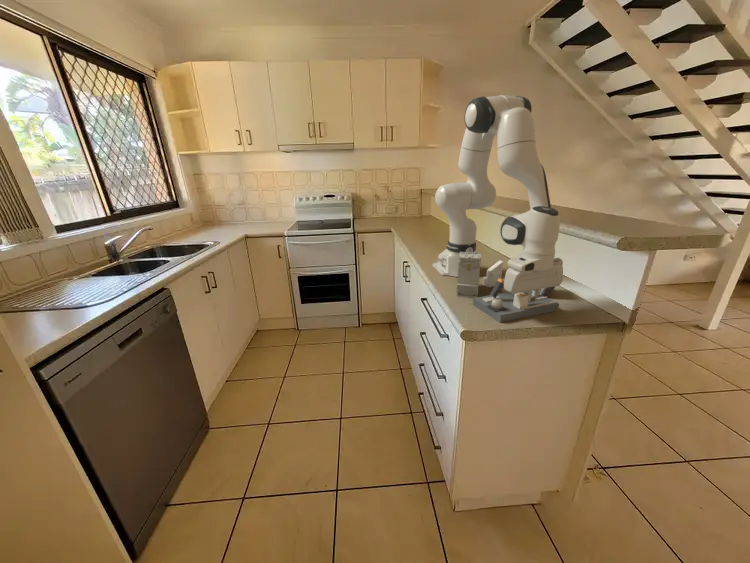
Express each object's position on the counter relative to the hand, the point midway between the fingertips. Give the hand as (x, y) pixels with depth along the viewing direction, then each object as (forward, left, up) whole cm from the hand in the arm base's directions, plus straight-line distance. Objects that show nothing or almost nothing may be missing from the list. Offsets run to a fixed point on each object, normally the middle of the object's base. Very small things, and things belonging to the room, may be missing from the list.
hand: (530, 301), depth 101 cm
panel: (-4, -2, -4) cm, 6 cm away
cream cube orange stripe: (0, -4, -1) cm, 4 cm away
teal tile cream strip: (-7, +5, 0) cm, 8 cm away
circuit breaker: (-23, -8, -4) cm, 25 cm away
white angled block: (-24, +4, -4) cm, 25 cm away
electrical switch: (-10, +16, -4) cm, 20 cm away
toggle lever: (-7, -9, 0) cm, 12 cm away
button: (-1, -12, -1) cm, 12 cm away
